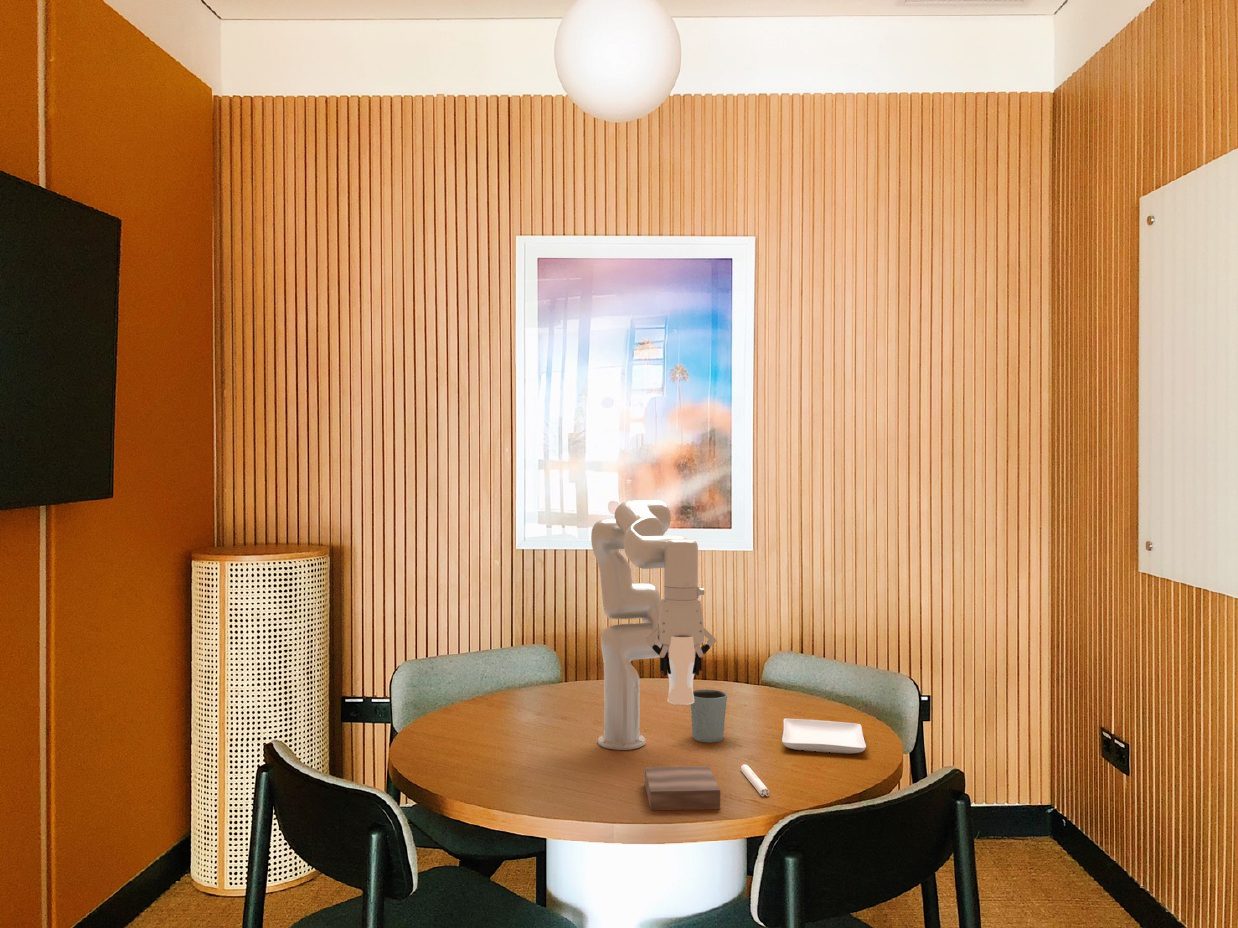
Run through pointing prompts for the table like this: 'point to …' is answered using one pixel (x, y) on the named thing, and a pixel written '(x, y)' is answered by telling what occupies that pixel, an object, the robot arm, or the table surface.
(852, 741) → the salad plate
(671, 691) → the beer glass
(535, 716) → the table surface
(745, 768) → the marker
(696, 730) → the grey green cup
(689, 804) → the walnut plinth
